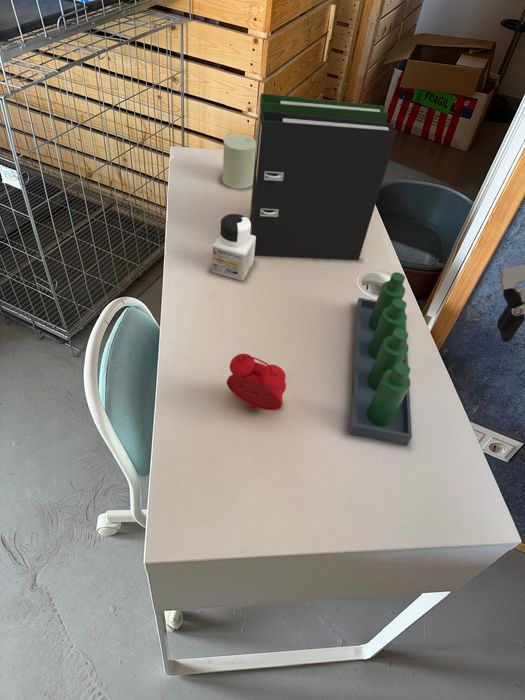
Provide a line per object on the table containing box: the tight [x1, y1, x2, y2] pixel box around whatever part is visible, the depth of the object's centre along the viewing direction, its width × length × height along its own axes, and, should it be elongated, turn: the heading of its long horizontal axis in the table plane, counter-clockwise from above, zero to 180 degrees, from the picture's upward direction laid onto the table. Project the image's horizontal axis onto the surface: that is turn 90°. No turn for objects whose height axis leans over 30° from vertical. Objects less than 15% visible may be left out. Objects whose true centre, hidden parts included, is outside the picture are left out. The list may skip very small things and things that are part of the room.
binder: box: [249, 93, 398, 261], centre depth 111 cm, size 27×15×32 cm, turn 91°
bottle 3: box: [368, 328, 409, 390], centre depth 88 cm, size 5×5×14 cm
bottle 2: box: [368, 298, 408, 359], centre depth 93 cm, size 5×5×14 cm
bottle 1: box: [369, 271, 406, 331], centre depth 98 cm, size 5×5×14 cm
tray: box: [349, 297, 413, 446], centre depth 95 cm, size 34×10×3 cm, turn 170°
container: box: [211, 213, 256, 281], centre depth 108 cm, size 8×8×13 cm
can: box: [221, 134, 257, 190], centre depth 136 cm, size 9×9×12 cm
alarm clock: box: [226, 353, 287, 411], centre depth 81 cm, size 10×6×15 cm, turn 67°
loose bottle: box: [367, 362, 411, 427], centre depth 82 cm, size 5×5×14 cm
